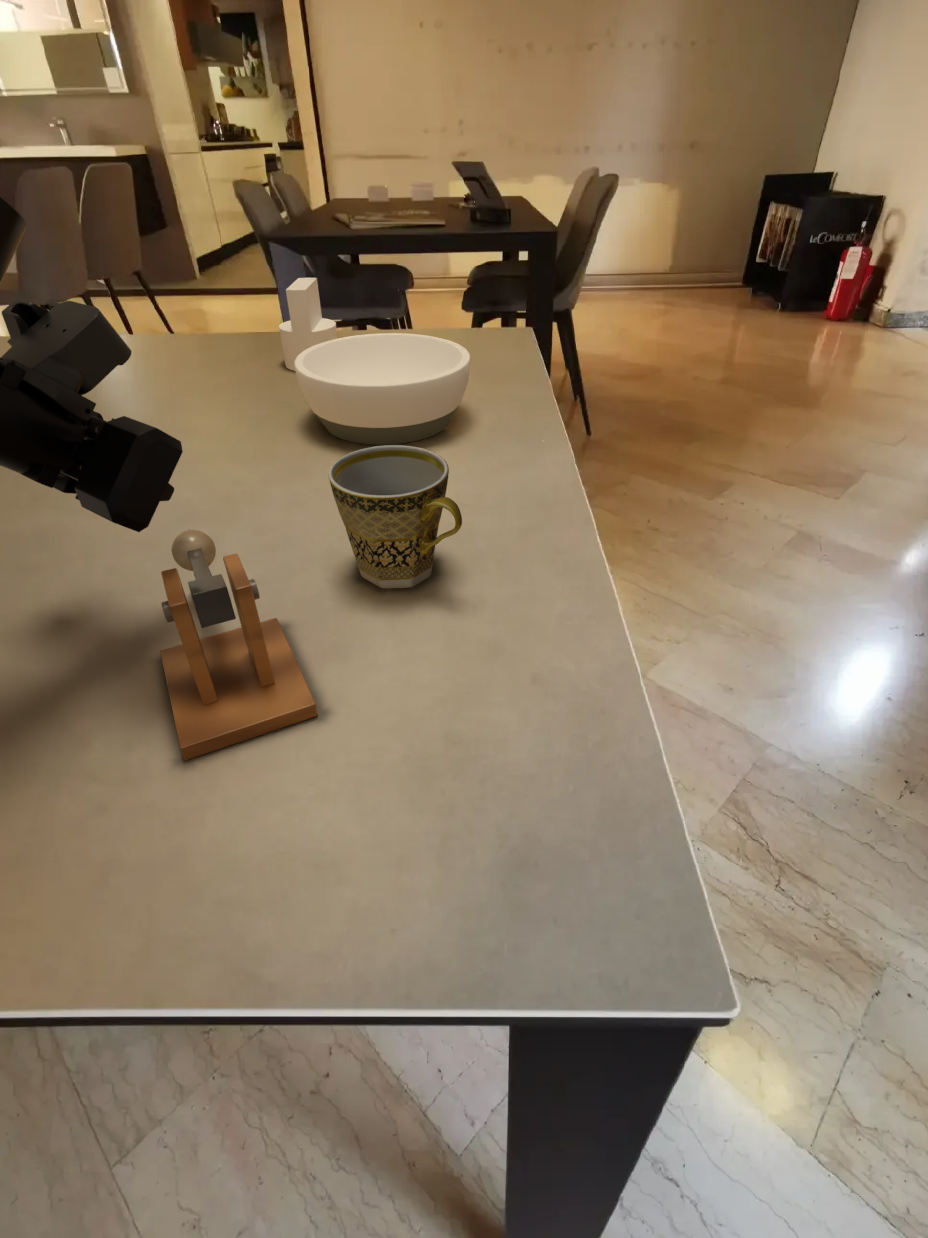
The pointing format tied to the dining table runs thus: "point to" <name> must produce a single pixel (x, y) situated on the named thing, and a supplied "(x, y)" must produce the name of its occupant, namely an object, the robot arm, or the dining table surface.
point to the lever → (203, 577)
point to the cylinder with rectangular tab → (304, 321)
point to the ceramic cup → (393, 510)
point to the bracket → (230, 672)
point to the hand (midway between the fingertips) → (169, 493)
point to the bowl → (384, 385)
